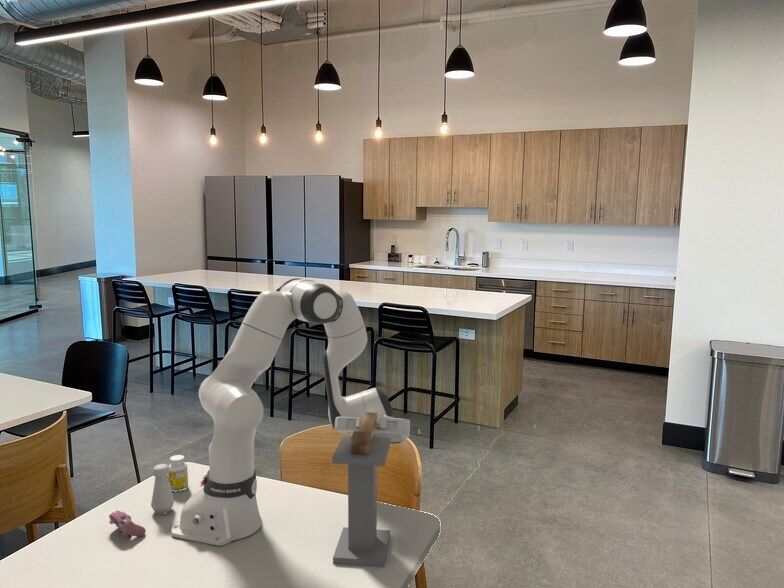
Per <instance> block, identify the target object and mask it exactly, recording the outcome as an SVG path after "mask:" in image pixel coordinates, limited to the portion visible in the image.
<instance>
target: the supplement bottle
mask: <svg viewBox="0 0 784 588" xmlns="http://www.w3.org/2000/svg"><path fill="white" fill-rule="evenodd" d="M169 463H170V464H169V465H168V466H169V468H170V471H169V474H168V478H169V482H170V486H171V490H173V491H180V490H183V489H185V488H187V487H189V474H188V473H189V471H188V464H187V462H186V461H185V456H184V455H182V454H175V455H172V456H170V457H169ZM187 489H188V488H187Z"/></svg>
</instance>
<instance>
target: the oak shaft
mask: <svg viewBox="0 0 784 588" xmlns="http://www.w3.org/2000/svg"><path fill="white" fill-rule="evenodd" d="M376 418H377V413H372V412H366V413H365V416H364V418H363V420H362V423H361V425H360V427H359V430H358V431H354V432H353V434H351V436H352V437H351V454H357V455H369V452H370V449H371V440H372V437H373V434H374V431H375V429H376V426H375V422H376V421H375V420H376Z"/></svg>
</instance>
